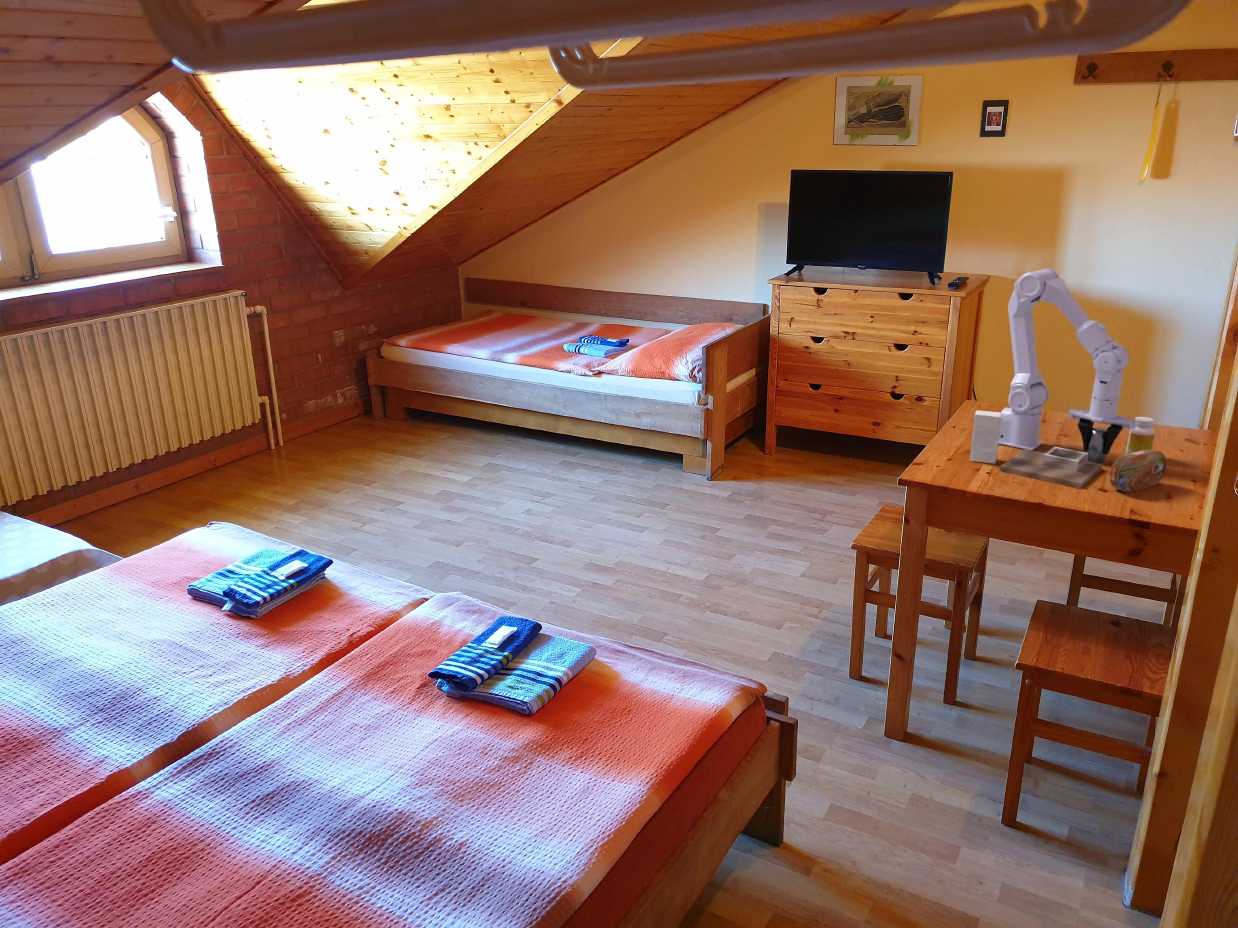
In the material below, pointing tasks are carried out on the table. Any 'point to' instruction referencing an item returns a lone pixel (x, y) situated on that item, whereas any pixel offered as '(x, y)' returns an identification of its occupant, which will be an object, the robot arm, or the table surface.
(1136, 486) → the tin
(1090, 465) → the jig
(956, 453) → the table surface
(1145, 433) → the supplement bottle
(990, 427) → the skincare box
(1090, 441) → the grey metal cylinder
